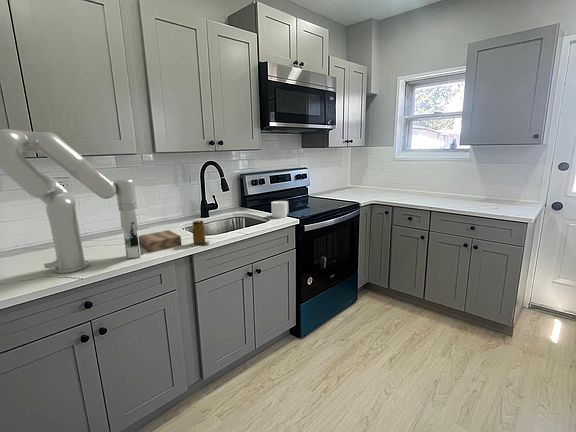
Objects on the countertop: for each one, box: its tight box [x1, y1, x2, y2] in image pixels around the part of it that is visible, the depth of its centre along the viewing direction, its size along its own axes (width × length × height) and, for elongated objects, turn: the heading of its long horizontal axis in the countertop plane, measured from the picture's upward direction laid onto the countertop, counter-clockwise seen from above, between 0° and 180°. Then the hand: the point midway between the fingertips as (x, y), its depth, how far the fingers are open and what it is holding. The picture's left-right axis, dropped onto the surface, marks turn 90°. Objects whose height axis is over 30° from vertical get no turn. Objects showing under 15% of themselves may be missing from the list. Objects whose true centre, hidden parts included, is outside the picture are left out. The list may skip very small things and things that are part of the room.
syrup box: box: [122, 228, 141, 260], centre depth 148 cm, size 6×6×14 cm
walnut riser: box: [138, 229, 182, 254], centre depth 165 cm, size 16×16×5 cm
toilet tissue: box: [271, 200, 289, 219], centre depth 224 cm, size 11×12×10 cm
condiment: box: [191, 220, 211, 247], centre depth 166 cm, size 7×8×12 cm
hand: (132, 243), depth 149 cm, fingers closed on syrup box, 7 cm apart
